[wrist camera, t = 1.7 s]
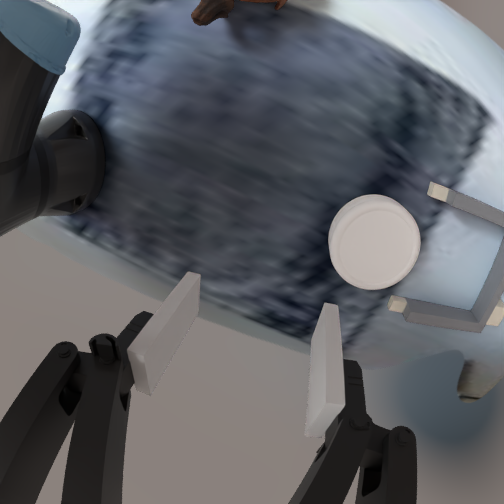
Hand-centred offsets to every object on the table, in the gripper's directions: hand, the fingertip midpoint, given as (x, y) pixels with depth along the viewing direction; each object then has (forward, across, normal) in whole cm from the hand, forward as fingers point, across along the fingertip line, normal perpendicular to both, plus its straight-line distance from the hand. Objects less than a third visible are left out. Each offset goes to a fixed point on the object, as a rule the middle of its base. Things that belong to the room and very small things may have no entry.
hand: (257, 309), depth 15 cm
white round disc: (+18, +10, 0) cm, 20 cm away
